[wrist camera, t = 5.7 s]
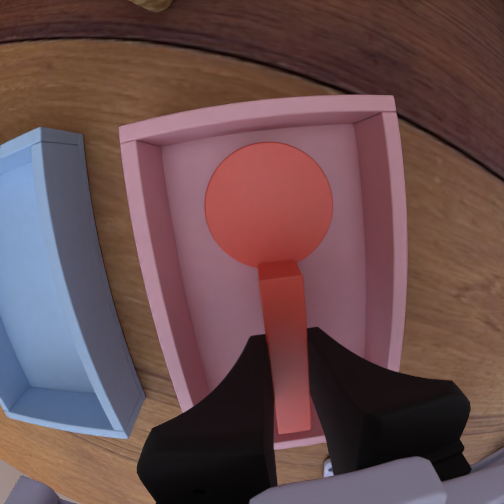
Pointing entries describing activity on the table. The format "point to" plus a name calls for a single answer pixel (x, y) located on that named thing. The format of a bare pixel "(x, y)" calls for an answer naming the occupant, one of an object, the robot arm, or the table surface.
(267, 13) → the table surface
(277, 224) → the red spoon
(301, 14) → the table surface
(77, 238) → the blue bin
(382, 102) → the rose bin
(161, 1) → the ice cream cone
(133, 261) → the table surface
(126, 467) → the table surface
